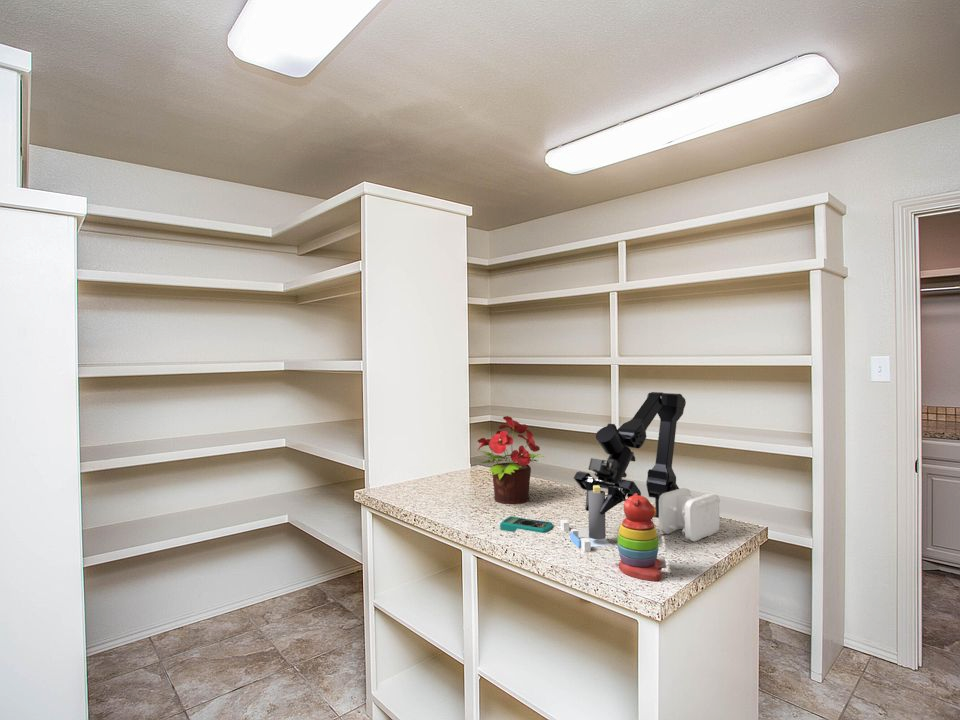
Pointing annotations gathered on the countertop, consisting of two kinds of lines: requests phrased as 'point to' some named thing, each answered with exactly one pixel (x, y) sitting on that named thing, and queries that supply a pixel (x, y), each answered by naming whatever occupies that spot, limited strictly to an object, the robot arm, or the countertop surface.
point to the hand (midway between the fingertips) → (593, 511)
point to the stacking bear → (639, 540)
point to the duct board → (582, 542)
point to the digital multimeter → (525, 525)
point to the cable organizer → (689, 513)
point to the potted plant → (510, 464)
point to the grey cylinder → (596, 513)
